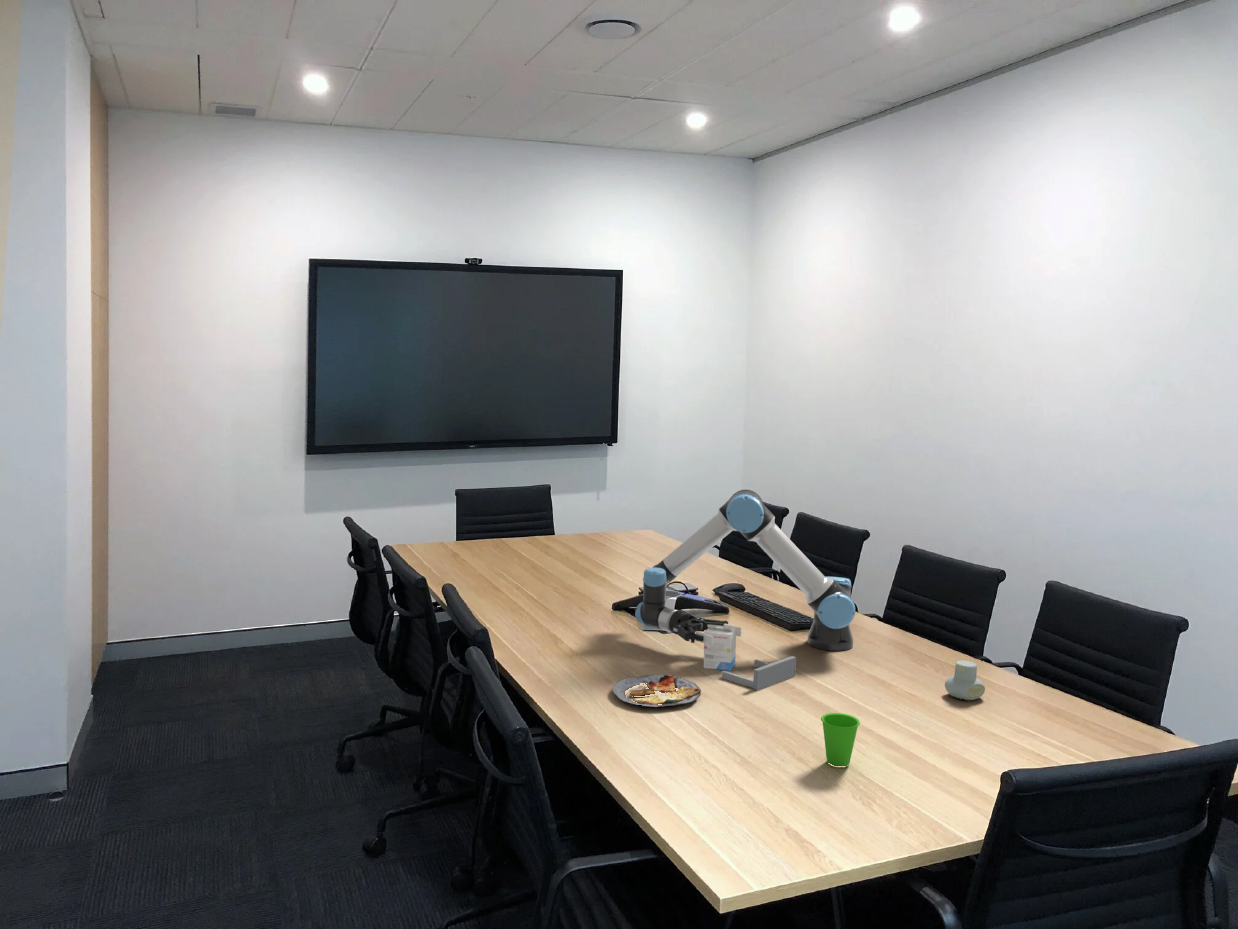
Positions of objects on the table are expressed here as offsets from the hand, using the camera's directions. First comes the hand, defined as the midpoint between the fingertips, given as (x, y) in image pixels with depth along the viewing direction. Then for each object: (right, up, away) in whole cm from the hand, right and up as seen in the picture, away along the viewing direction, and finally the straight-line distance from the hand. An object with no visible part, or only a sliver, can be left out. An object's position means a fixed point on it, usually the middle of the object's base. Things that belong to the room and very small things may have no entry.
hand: (727, 636), depth 296 cm
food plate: (-23, -13, -25) cm, 36 cm away
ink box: (-2, -10, +3) cm, 10 cm away
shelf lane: (+8, -11, -7) cm, 16 cm away
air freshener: (+66, -14, -20) cm, 71 cm away
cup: (+19, -19, -67) cm, 72 cm away
